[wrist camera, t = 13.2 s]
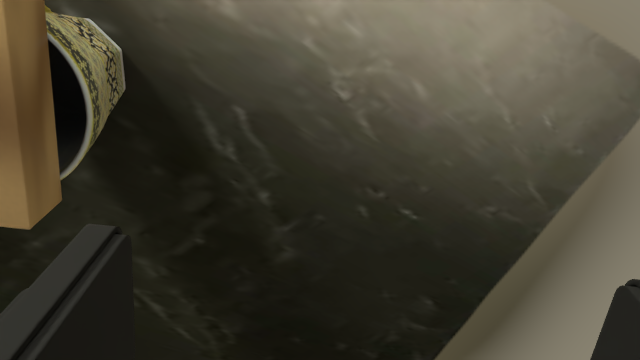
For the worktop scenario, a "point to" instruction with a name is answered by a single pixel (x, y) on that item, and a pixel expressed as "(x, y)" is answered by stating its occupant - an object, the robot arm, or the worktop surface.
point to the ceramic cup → (81, 84)
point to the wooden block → (26, 117)
